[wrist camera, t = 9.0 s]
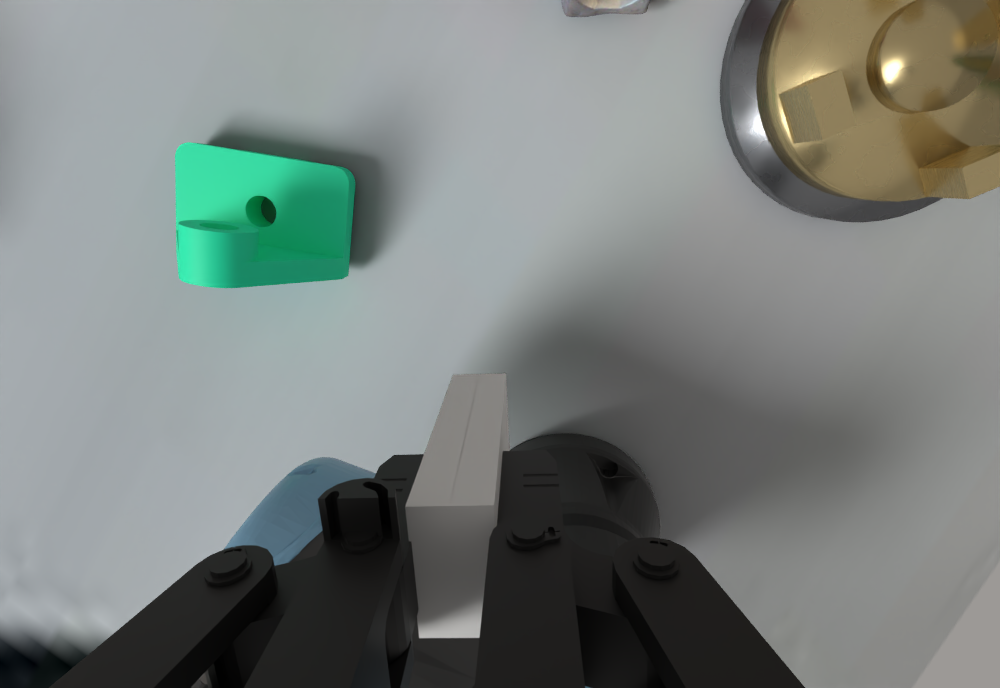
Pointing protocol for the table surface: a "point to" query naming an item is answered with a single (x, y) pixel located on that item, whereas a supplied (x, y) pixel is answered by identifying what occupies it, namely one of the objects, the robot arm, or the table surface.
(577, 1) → the brake caliper
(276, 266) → the camera mount
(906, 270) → the table surface
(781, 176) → the index base
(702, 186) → the table surface
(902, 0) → the brass finned hub
